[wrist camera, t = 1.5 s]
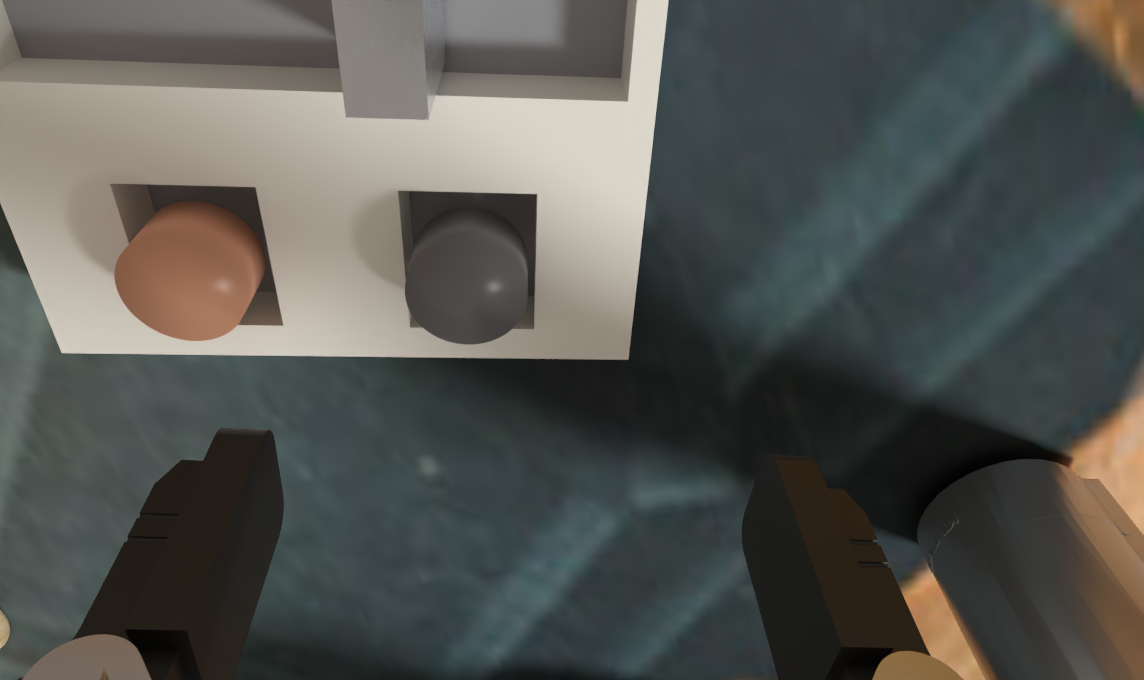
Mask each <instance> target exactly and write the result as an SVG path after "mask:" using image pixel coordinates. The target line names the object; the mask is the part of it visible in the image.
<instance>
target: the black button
mask: <svg viewBox="0 0 1144 680" xmlns="http://www.w3.org/2000/svg"><path fill="white" fill-rule="evenodd" d="M527 297H528V255H527V249H526V246H525V243H524V241H523V239H522V237H521V235H520V234H519V232H518V231H517V230H516V228H515V227H514V226H513V225H512V224H511V223H509V222H508V221H507V220H506V219H504V218H503V217H501V216H499V215H497V214H495V213H493V212H490V211H487V210H484V209H479V208H457V209H452V210H448V211H446V212H443V213H441V214H439V215H437V216H436V217H434V218H433V219H431V220H430V221H429V222H428V223H427V224H426V225H425V226H424V227H423V228H422V230H421V231H420V233H419V234H418V236H417V238H416V242H415V245H414V249H413V253H412V257H411V261H410V265H409V269H408V274H407V278H406V282H405V298H406V303H407V306H408V308H409V310H410V312H411V314H412V316H413V317H414V319H415V320H416V321H417V322H418V323H419V325H420V326H422V327H423V328H424V329H425V330H426V331H428V332H429V333H431V334H432V335H434V336H436V337H438V338H440V339H443V340H445V341H448V342H452V343H457V344H467V345H471V344H481V343H486V342H490V341H493V340H495V339H498V338H500V337H502V336H503V335H505V334H506V333H508V332H509V331H510V330H512V329H513V328H514V327H515V326H516V325H517V323H518V322H519V321H520V319H521V318H522V316H523V314H524V311H525V309H526V305H527Z"/></svg>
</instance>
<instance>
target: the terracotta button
mask: <svg viewBox="0 0 1144 680" xmlns="http://www.w3.org/2000/svg"><path fill="white" fill-rule="evenodd" d="M265 269H266V259H265V253H264V250H263V247H262V245H261V242H260V241H259V239H258V237H257V236H256V234H255V233H254V232H253V230H252V229H251V228H250V227H249V226H248V225H247V224H246V223H245V222H244V221H243V220H241V219H240V218H239V217H238V216H236V215H235V214H233V213H231V212H230V211H228V210H226V209H224V208H221V207H219V206H216V205H213V204H210V203H205V202H199V201H183V202H177V203H173V204H170V205H168V206H165V207H163V208H162V209H160V210H159V211H157V212H156V213H155V214H154V215H153V216H152V217H151V219H150V220H149V221H148V222H147V223H146V225H145V226H144V227H143V228H142V229H141V231H140V232H139V233H138V234H137V235H136V236H135V238H134V239H133V240H132V241H131V242H130V244H129V245H128V246H127V247H126V248H125V250H124V251H123V252H122V253H121V255H120V256H119V258H118V260H117V262H116V266H115V274H114V277H115V284H116V288H117V291H118V293H119V296H120V298H121V299H122V301H123V303H124V304H125V306H126V307H127V308H128V310H129V311H130V312H131V313H132V314H133V315H134V316H135V317H136V318H137V319H139V320H140V321H141V322H142V323H144V324H145V325H147V326H148V327H150V328H152V329H153V330H155V331H157V332H159V333H162V334H164V335H167V336H169V337H173V338H177V339H181V340H187V341H205V340H212V339H215V338H219V337H221V336H223V335H225V334H227V333H229V332H230V331H232V330H233V329H234V328H235V327H236V326H237V325H238V324H239V323H240V321H241V319H242V317H243V316H244V314H245V312H246V310H247V308H248V306H249V304H250V302H251V300H252V298H253V296H254V295H255V293H256V291H257V289H258V287H259V285H260V283H261V281H262V279H263V277H264V274H265Z"/></svg>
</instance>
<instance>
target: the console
mask: <svg viewBox="0 0 1144 680" xmlns="http://www.w3.org/2000/svg"><path fill="white" fill-rule="evenodd" d="M442 2H443V23H444V45H445V65H444V69H443V72H442V75H441V79H440V82H439V86H438V89H437V93H436V96H435V100H434V103H433V107H432V110H431V114H430V117H429V120H415V119H381V118H348V117H346V115H345V107H344V99H343V90H342V82H341V74H340V66H339V58H338V50H337V42H336V33H335V25H334V17H333V9H332V1H331V0H0V204H1V206H2V209H3V211H4V213H5V216H6V218H7V221H8V223H9V226H10V228H11V230H12V233H13V235H14V238H15V240H16V243H17V245H18V247H19V250H20V252H21V255H22V257H23V260H24V262H25V264H26V267H27V269H28V272H29V274H30V277H31V279H32V282H33V284H34V286H35V289H36V291H37V294H38V296H39V299H40V301H41V303H42V306H43V308H44V311H45V313H46V316H47V318H48V320H49V323H50V325H51V328H52V330H53V333H54V335H55V338H56V340H57V342H58V345H59V347H60V350H61V352H62V353H96V354H181V355H265V356H349V357H434V358H518V359H602V360H628V359H629V350H630V341H631V332H632V323H633V314H634V305H635V296H636V287H637V278H638V269H639V261H640V252H641V243H642V234H643V225H644V216H645V207H646V198H647V189H648V180H649V171H650V162H651V153H652V144H653V135H654V126H655V117H656V108H657V99H658V90H659V81H660V72H661V63H662V54H663V45H664V36H665V27H666V18H667V9H668V0H442ZM183 201H199V202H205V203H210V204H213V205H216V206H219V207H221V208H224V209H226V210H228V211H230V212H231V213H233V214H235V215H236V216H238V217H239V218H240V219H241V220H243V221H244V222H245V223H246V224H247V225H248V226H249V227H250V228H251V229H252V230H253V232H254V233H255V234H256V236H257V237H258V239H259V241H260V242H261V245H262V247H263V250H264V253H265V259H266V269H265V274H264V277H263V279H262V281H261V283H260V285H259V287H258V289H257V291H256V293H255V295H254V296H253V298H252V300H251V302H250V304H249V306H248V308H247V310H246V312H245V314H244V316H243V317H242V319H241V321H240V323H239V324H238V325H237V326H236V327H235V328H234V329H233V330H232V331H230V332H229V333H227V334H225V335H223V336H221V337H219V338H215V339H212V340H205V341H187V340H181V339H177V338H173V337H169V336H167V335H164V334H162V333H159V332H157V331H155V330H153V329H152V328H150V327H148V326H147V325H145V324H144V323H142V322H141V321H140V320H139V319H137V318H136V317H135V316H134V315H133V314H132V313H131V312H130V311H129V310H128V308H127V307H126V306H125V304H124V303H123V301H122V299H121V298H120V296H119V293H118V291H117V288H116V284H115V277H114V274H115V266H116V262H117V260H118V258H119V256H120V255H121V253H122V252H123V251H124V250H125V248H126V247H127V246H128V245H129V244H130V242H131V241H132V240H133V239H134V238H135V236H136V235H137V234H138V233H139V232H140V231H141V229H142V228H143V227H144V226H145V225H146V223H147V222H148V221H149V220H150V219H151V217H152V216H153V215H154V214H155V213H156V212H157V211H159V210H160V209H162V208H163V207H165V206H168V205H170V204H173V203H177V202H183ZM457 208H479V209H484V210H487V211H490V212H493V213H495V214H497V215H499V216H501V217H503V218H504V219H506V220H507V221H508V222H509V223H511V224H512V225H513V226H514V227H515V228H516V230H517V231H518V232H519V234H520V235H521V237H522V239H523V241H524V243H525V246H526V249H527V255H528V297H527V305H526V309H525V311H524V314H523V316H522V318H521V319H520V321H519V322H518V323H517V325H516V326H515V327H514V328H513V329H512V330H510V331H509V332H508V333H506V334H505V335H503V336H502V337H500V338H498V339H495V340H493V341H490V342H486V343H481V344H471V345H467V344H457V343H452V342H448V341H445V340H443V339H440V338H438V337H436V336H434V335H432V334H431V333H429V332H428V331H426V330H425V329H424V328H423V327H422V326H420V325H419V323H418V322H417V321H416V320H415V319H414V317H413V316H412V314H411V312H410V310H409V308H408V306H407V303H406V298H405V282H406V278H407V274H408V269H409V265H410V261H411V257H412V253H413V249H414V245H415V242H416V238H417V236H418V234H419V233H420V231H421V230H422V228H423V227H424V226H425V225H426V224H427V223H428V222H429V221H430V220H431V219H433V218H434V217H436V216H437V215H439V214H441V213H443V212H446V211H448V210H452V209H457Z"/></svg>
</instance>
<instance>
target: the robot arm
mask: <svg viewBox="0 0 1144 680" xmlns="http://www.w3.org/2000/svg"><path fill="white" fill-rule="evenodd" d="M283 508H284V500H283V491H282V484H281V478H280V472H279V465H278V459H277V453H276V446H275V440H274V436H273V433H272V432H271V431H270V430H253V429H231V428H221V429H220V430H218V432H217V433H216V435H215V437H214V439H213V441H212V443H211V445H210V447H209V450H208V452H207V454H206V456H205V458H204V460H203V461H194V460H181V461H180V462H179V463H178V464H176V465H175V466H174V467H173V468H172V469H171V470H170V471H169V472H168V473H166V474H165V475H164V476H163V477H162V478H161V479H160V480H159V481H158V482H156V483H155V484H154V486H153V488H152V490H151V492H150V494H149V496H148V498H147V500H146V502H145V504H144V506H143V508H142V509H141V511H140V517H139V518H137V519H136V521H135V523H134V525H133V527H132V529H131V531H130V533H129V535H128V540H127V542H124V544H123V546H122V548H121V550H120V552H119V554H118V556H117V558H116V560H115V562H114V564H113V566H112V567H111V569H110V571H109V573H108V575H107V577H106V579H105V581H104V583H103V585H102V587H101V589H100V591H99V593H98V595H97V596H96V598H95V600H94V602H93V604H92V606H91V608H90V610H89V612H88V614H87V616H86V618H85V620H84V622H83V624H82V625H81V627H80V629H79V631H78V632H77V634H76V636H75V637H74V638H73V639H72V641H70V642H67V643H65V644H63V645H61V646H59V647H57V648H55V649H54V650H52V651H51V652H49V653H48V654H46V655H45V656H44V657H42V658H41V659H40V660H39V661H38V662H37V663H35V665H34V666H33V667H32V668H31V669H30V670H29V671H28V672H27V674H26V675H25V676H24V677H22V678H20V679H18V680H233V678H234V675H235V672H236V669H237V665H238V662H239V659H240V656H241V653H242V650H243V647H244V644H245V641H246V637H247V634H248V631H249V628H250V625H251V622H252V619H253V616H254V613H255V609H256V606H257V603H258V600H259V597H260V594H261V591H262V588H263V585H264V582H265V578H266V575H267V572H268V569H269V566H270V563H271V560H272V557H273V554H274V550H275V547H276V544H277V541H278V538H279V535H280V531H281V526H282V520H283ZM917 540H918V543H919V545H920V548H921V550H922V552H923V554H924V556H925V558H926V560H927V562H928V566H929V568H930V570H931V572H932V573H933V574H934V576H935V578H936V580H937V582H938V584H939V586H940V588H941V590H942V592H943V594H944V596H945V598H946V600H947V603H948V605H949V607H950V609H951V611H952V613H953V615H954V617H955V619H956V621H957V623H958V625H959V627H960V629H961V631H962V633H963V635H964V637H965V639H966V641H967V643H968V645H969V647H970V649H971V651H972V653H973V655H974V657H975V659H976V661H977V663H978V665H979V667H980V669H981V671H982V673H983V675H984V677H985V679H986V680H1144V535H1143V534H1142V533H1141V532H1140V530H1139V529H1138V528H1137V527H1136V525H1135V524H1134V523H1133V522H1132V520H1131V519H1130V518H1129V517H1128V515H1127V514H1126V513H1125V512H1124V510H1123V509H1122V508H1121V507H1120V505H1119V504H1118V503H1117V501H1116V500H1115V499H1114V498H1113V496H1112V495H1111V494H1110V493H1109V491H1108V490H1107V489H1106V488H1105V486H1104V485H1103V484H1102V483H1101V481H1100V480H1099V479H1085V478H1081V477H1080V476H1078V475H1077V474H1076V473H1075V472H1073V471H1072V470H1071V469H1070V468H1068V467H1066V466H1064V465H1061V464H1059V463H1057V462H1053V461H1047V460H1042V459H1020V460H1012V461H1005V462H1001V463H998V464H994V465H990V466H987V467H984V468H982V469H979V470H977V471H975V472H972V473H970V474H968V475H966V476H964V477H962V478H961V479H959V480H957V481H956V482H954V483H952V484H951V485H949V486H948V487H947V488H946V489H944V490H943V491H942V492H941V493H939V494H938V495H937V496H936V497H935V498H934V500H933V501H932V502H931V503H930V504H929V505H928V506H927V508H926V510H925V511H924V513H923V515H922V516H921V518H920V521H919V525H918V528H917ZM742 544H743V550H744V555H745V558H746V562H747V566H748V569H749V573H750V577H751V580H752V584H753V588H754V591H755V595H756V598H757V602H758V606H759V609H760V613H761V617H762V620H763V624H764V628H765V631H766V635H767V639H768V642H769V646H770V650H771V653H772V657H773V661H774V664H775V668H776V672H777V675H778V679H779V680H963V679H962V678H961V677H960V676H959V675H958V674H957V673H956V672H955V671H954V670H952V669H951V668H950V667H949V666H947V665H946V664H944V663H943V662H941V661H940V660H938V659H935V658H933V657H931V656H930V654H929V652H928V650H927V648H926V646H925V644H924V641H923V639H922V637H921V635H920V633H919V630H918V628H917V626H916V624H915V621H914V619H913V617H912V615H911V613H910V610H909V608H908V606H907V604H906V601H905V599H904V597H903V595H902V593H901V590H900V588H899V586H898V584H897V581H896V579H895V577H894V575H893V573H892V570H891V568H888V565H887V564H888V561H887V559H886V557H885V555H884V553H883V550H882V548H881V546H878V539H877V537H876V535H875V533H874V530H873V528H872V526H871V524H870V521H869V519H868V517H867V515H866V513H865V512H864V511H863V510H862V509H861V507H860V506H859V505H858V504H857V503H856V502H855V501H854V500H853V499H852V498H851V497H850V496H849V495H848V494H847V492H846V491H845V490H844V489H834V488H828V487H827V485H826V483H825V480H824V478H823V475H822V473H821V470H820V468H819V466H818V464H817V462H816V460H815V459H814V458H813V457H811V456H794V455H771V454H768V455H766V456H765V457H764V459H763V461H762V463H761V466H760V469H759V472H758V475H757V478H756V481H755V484H754V487H753V490H752V493H751V496H750V499H749V502H748V504H747V507H746V510H745V513H744V517H743V524H742Z"/></svg>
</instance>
